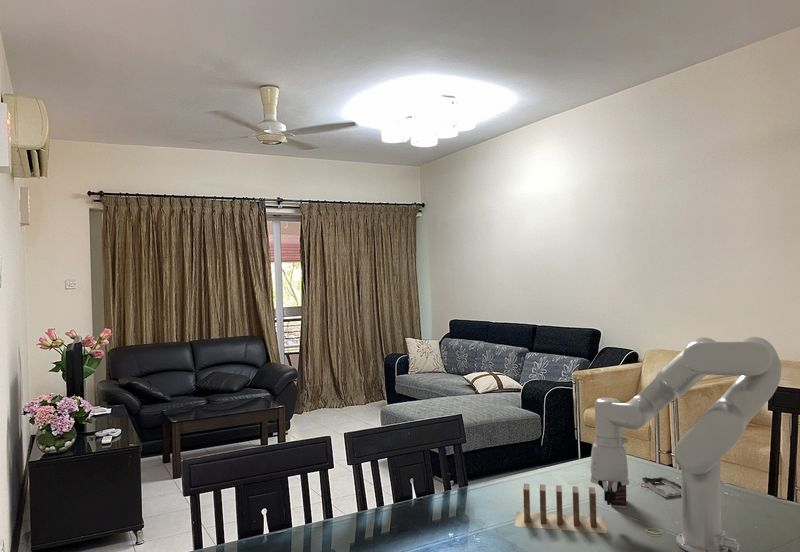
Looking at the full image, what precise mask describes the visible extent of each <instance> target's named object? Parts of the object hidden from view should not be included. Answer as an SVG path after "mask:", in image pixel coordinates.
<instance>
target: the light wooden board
mask: <svg viewBox="0 0 800 552" xmlns="http://www.w3.org/2000/svg"><path fill="white" fill-rule="evenodd" d="M562 515H563V525H557V513H546V524H541V520H540V512H530V523H524V511H516V515H515V521H514V527H518V528H529V529H530V528H531V529H545V530H557V531H558V530H559V531H571V532H572V531H573V532H584V533H585V532H586V533H596V534H597V533H598V534H601V533H602V534H608V529H607V528H608V527H607V524H606V520H605V517H600V516H596V521H597V528H591V525H590V515H589V516H585V515H579V522H580V527H576V526H574V521H573V514H562Z"/></svg>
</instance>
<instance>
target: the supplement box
mask: <svg viewBox="0 0 800 552" xmlns="http://www.w3.org/2000/svg"><path fill="white" fill-rule="evenodd" d="M611 485H612V481H607V486H608V487H609V491H610V487H611ZM627 504H628V503H627V485H624V486H621V487H619V488H618V489H617V491H616V492H615V502H613V505H611V504H610V507H611V508H623V509H624V508H626V509H627V507H628V506H627Z"/></svg>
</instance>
